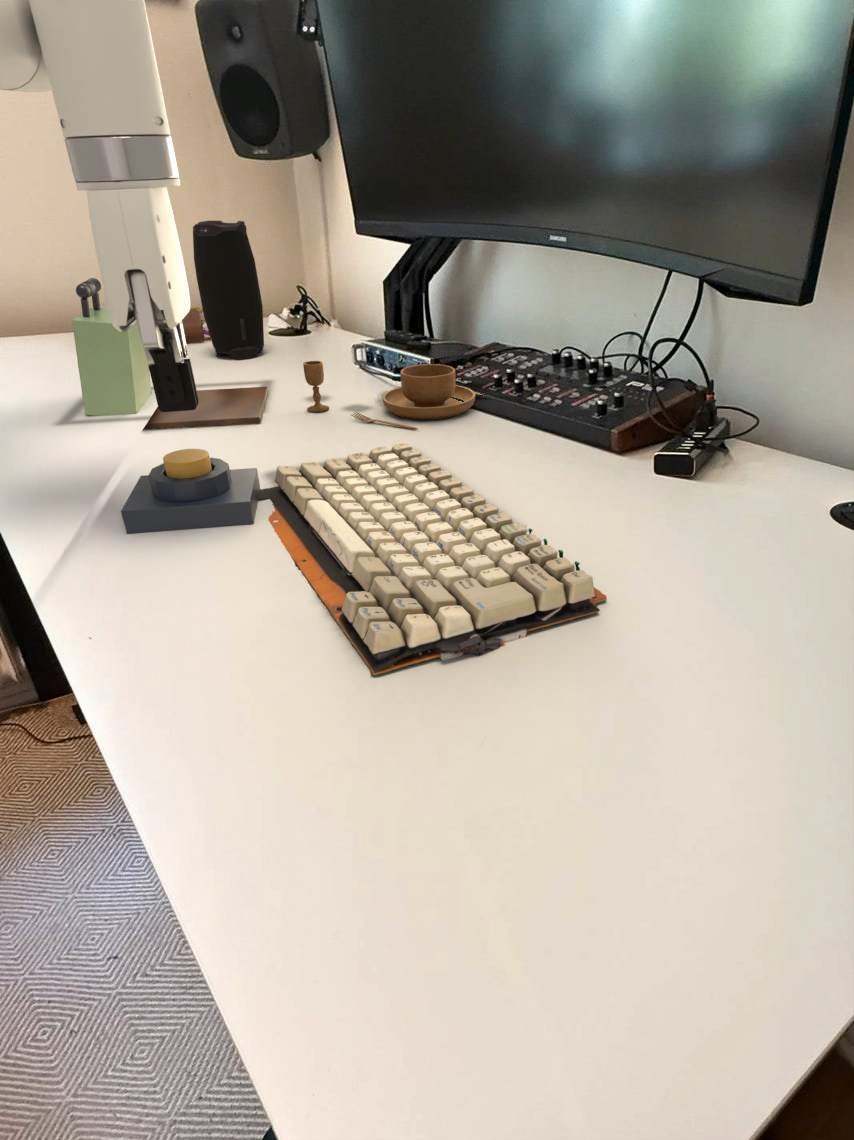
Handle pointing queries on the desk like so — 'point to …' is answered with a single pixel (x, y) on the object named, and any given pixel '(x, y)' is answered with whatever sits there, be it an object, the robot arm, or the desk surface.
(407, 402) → the place setting
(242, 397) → the brown wooden board
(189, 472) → the bell button
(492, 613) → the mechanical keyboard
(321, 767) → the desk surface
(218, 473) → the grey mounting base
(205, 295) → the portable speaker
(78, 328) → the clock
